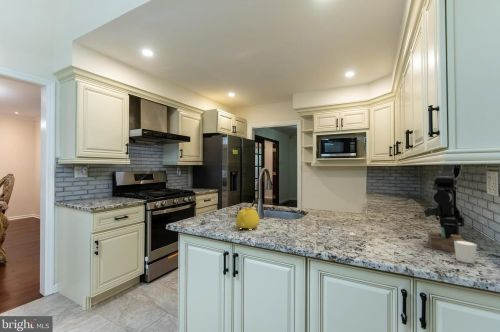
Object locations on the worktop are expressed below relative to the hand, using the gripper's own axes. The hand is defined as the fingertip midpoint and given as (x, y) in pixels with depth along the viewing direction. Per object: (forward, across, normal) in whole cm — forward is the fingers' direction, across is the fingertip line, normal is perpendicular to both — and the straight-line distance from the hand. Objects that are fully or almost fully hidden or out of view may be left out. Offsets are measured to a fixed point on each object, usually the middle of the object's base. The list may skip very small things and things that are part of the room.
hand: (445, 235), depth 112 cm
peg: (+5, 0, 0) cm, 5 cm away
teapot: (+6, +16, -98) cm, 99 cm away
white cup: (+6, +16, +4) cm, 17 cm away
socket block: (+5, 0, 0) cm, 5 cm away
